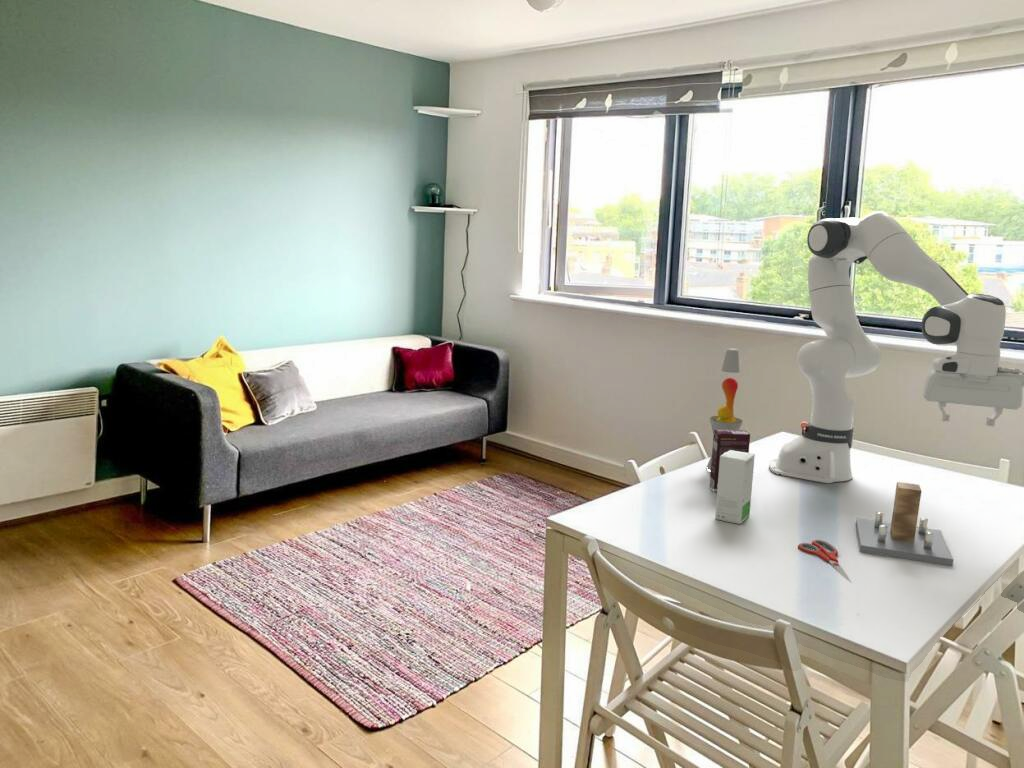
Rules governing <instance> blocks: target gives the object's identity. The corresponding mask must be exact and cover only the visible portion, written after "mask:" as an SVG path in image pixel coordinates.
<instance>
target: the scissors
mask: <svg viewBox="0 0 1024 768" xmlns="http://www.w3.org/2000/svg"><path fill="white" fill-rule="evenodd" d="M824 546H825V547H824ZM807 547H808V548H809V549H808V548H807ZM826 547H827V548H826ZM811 548H812V549H811ZM797 549H798V550H799V551H801V552H803V553H805V554H808V555H811V554H812V556H815V557H817V558H819V559H821V560H823V562H826V564H828V563H829V564H830V566H831V567H833V569H835V571H836V572H837V573H839V574H840V575H841V576H842V577H843V578H844V579H845V580H847V581H848V582H849V583H851V584H852V583H853V582H852V580H851V579H850V577H849V576H848V574H847V573H846V571H845V569H843V567H842V566H841V564H840V563H839V560H838V559H837V556H838V555H839V551H838V549H837V548H835V546H834V545H832V544H831V543H829V542H827V541H824V540H822V539H814V540H812V541H811V543H809V542H802V543H799V544H798V545H797ZM813 549H814V550H813ZM827 549H828V550H830V551H828V550H827Z"/></svg>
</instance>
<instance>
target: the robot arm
mask: <svg viewBox="0 0 1024 768" xmlns="http://www.w3.org/2000/svg"><path fill="white" fill-rule="evenodd" d="M807 247H808V248H809V249H808V250H809V251H810V252H811V254H813V255H812V256H811V257H810V258H809V260H808V265H807V266H808V267H807V287H808V295H809V303H810V310H811V318H812V321H813V322H814V323H815V324H817V325H818V326H819V327H820V328H821V329H822V330H823V332H824V333H825V335H826V337H827V338H821V339H816V340H812V341H809V342H807V343H804V344H803V345H802V346H801V347H800V348H799V350H798V354H797V359H796V360H797V361H796V362H797V365H798V369H799V370H800V372H801V373H802V374H803V376H805V378H806V379H807V380H808V383H809V386H810V389H811V397H812V400H811V401H812V403H811V414H810V422H807V421H802V422H801V423H800V428H801V435H800V436H798V437H796V438H794V439H793V440H791V441H788V442H787V443H784V445H783V446H782V447H781V449H780V450H779V453H778V457H777V458H774V459H772V460H770V462H769V466H768V469H769V468H770V469H769V471H770V470H771V471H772V473H773V472H774V473H773V474H775V473H776V474H775V475H779V474H781V476H784V477H785V476H786V477H790V478H796V479H801V480H807V481H811V482H812V481H813V482H816V483H817V482H819V483H823V484H832V483H836V482H846V481H847V482H848V481H850V480H851V479H853V473H852V467H851V449H852V446H853V442H854V428H853V424H854V417H855V409H856V408H855V407H856V401H855V399H854V398H853V396H852V395H850V394H849V393H848V391H847V389H846V382H845V380H846V378H859V377H862V376H865V375H867V374H871V373H873V372H875V370H877V368H878V367H879V366H880V364H881V360H882V359H881V351H880V348H879V346H878V345H877V344H876V343H875V342H874V341H873V340H871V339H870V338H869V337H868V335H867V334H866V333H865V331H864V330H863V328H862V325H861V324H860V321H859V319H858V316H857V314H856V307H855V304H854V299H853V298H854V297H853V291H852V285H851V279H850V268H851V265H852V264H856V265H860V264H862V263H863V262H865V261H866V260H867V259H868V261H869V262H870V263H871V265H872V266H873V268H874V269H875V270H876V271H877V272H878V273H879V274H880V275H881V276H882V277H884V278H885V279H887V280H888V281H891V282H895V283H899V284H904V285H908V286H912V287H916V288H917V289H918V288H919V289H921V290H922V291H924V292H926V293H928V294H929V295H930V296H932V298H934V300H935V301H936V302H937V303H938V304H939V305H937V306H933V307H931V308H929V309H928V310H927V311H926V312H925V313H924V315H923V317H922V319H921V320H922V321H921V326H920V327H921V332H922V335H923V337H924V339H925V340H926V341H927V342H928V343H930V344H933V345H936V346H945V347H946V346H952V347H953V346H956V351H955V352H956V353H955V354H953V355H949V356H945V357H944V356H943V357H938V358H935V359H933V362H932V367H933V369H931V370H930V371H929V372H928V374H927V375H926V378H925V381H924V385H923V389H922V397H923V398H924V400H925V401H927V402H935V403H936V402H937V406H938V408H939V410H940V412H941V416H940V417H941V418H940V420H941V422H945V423H946V422H947V423H949V422H950V417H951V414H950V413H948V412H946V411H945V408H946V406H947V404H956V405H965V406H976V407H984V408H993V411H994V413H993V414H992V415H991V416H990V417H986V419H985V420H986V421H985V426H986V427H991V428H992V427H993V428H994V427H995V424H996V420H997V419H998V418H999V417H1000V416H1002V414H1003V410H1004V409H1005V410H1019V409H1020V408H1021V407H1022V403H1023V388H1024V372H1023V371H1022V370H1021V369H1019V368H1008V367H1001V366H999V364H1000V359H1001V348H1000V346H1001V343H1002V340H1003V338H1004V334H1005V325H1006V317H1007V315H1006V313H1007V312H1006V311H1007V310H1006V306H1005V303H1004V301H1003V300H1002V299H1000V298H998V297H997V296H993V295H988V294H983V293H971V294H969V293H968V292H967V291H966V290H965V289H964V288H963V286H961V285H960V284H959V283H958V282H957V280H956V279H954V277H952V275H950V273H948V271H947V270H946V269H945V268H944V267H942V266H941V265H940V264H938V262H936V261H935V260H934V259H933V258H932V257H931V256H930V255H929V254H927V253H926V252H925V251H924V250H923V249H922V247H920V245H919V244H918V243H917V242H916V241H915V240H914V239H913V237H912V236H911V235H910V234H909V232H908V231H907V230H906V229H905V228H904V226H902V225H901V224H900V223H899V222H898V221H897V220H895V218H894V217H892V216H891V215H890V214H888V213H887V212H884V211H874V212H871V213H868V214H867V215H865V216H864V217H862V218H860V217H859V218H858V217H849V216H848V217H840V218H833V217H831V218H830V217H829V218H823V219H820V220H817V221H816V222H815V223H813V224H812V225H811V227H810V228H809V230H808V233H807ZM771 471H770V472H771Z"/></svg>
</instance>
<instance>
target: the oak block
mask: <svg viewBox="0 0 1024 768" xmlns="http://www.w3.org/2000/svg"><path fill="white" fill-rule="evenodd" d="M921 488H922V487H921V486H920V484H918V483H917V484H915V483H908V482H901V481H897V482H896V487H895V494H894V502H893V508H892V515H891V522H890V523H891V529H890V534H891V538H892V539H893V540H900V541H906V542H913V543H914V540H915V533H916V527H918V525H917V524H918V518H919V511H920V503H921V498H922V489H921Z"/></svg>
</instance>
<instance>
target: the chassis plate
mask: <svg viewBox="0 0 1024 768" xmlns="http://www.w3.org/2000/svg"><path fill="white" fill-rule="evenodd" d="M855 519H856V520H855V528H856V529H857V530H856V529H855V530H856V536H857V535H858V536H857V542H858V541H859V542H858V547H859V552H860V553H865V554H866V553H867V554H873V555H880V556H885V557H886V556H887V557H890V558H891V557H892V558H899V559H903V560H904V559H905V560H911V561H917V562H925V563H931V564H937V565H944V566H948V567H950V566H951V567H952V566H953V565H954V557H953V556H952V554H951V551H950V549H949V546H948V544H947V541H946V539H945V537H944V535H943V533H942V531H941V529H934V528H929V527H927V530H926V532H932V533H934V536H933V542H932V549H931V550H927V549H924V548H923V546H924V539H925V535H920V534H918V530H919V526H916V533H915V540H914V543H913V542H906V541H900V540H893V539H892V538H891V534H890V529H891V522H885V521H883V522H882V525H885V526H887V533H886V540H885V543H881V542H878V541H877V539H878V532H879V529H878V528H875V527H874V524H875V520H871V519H865V518H855Z"/></svg>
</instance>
